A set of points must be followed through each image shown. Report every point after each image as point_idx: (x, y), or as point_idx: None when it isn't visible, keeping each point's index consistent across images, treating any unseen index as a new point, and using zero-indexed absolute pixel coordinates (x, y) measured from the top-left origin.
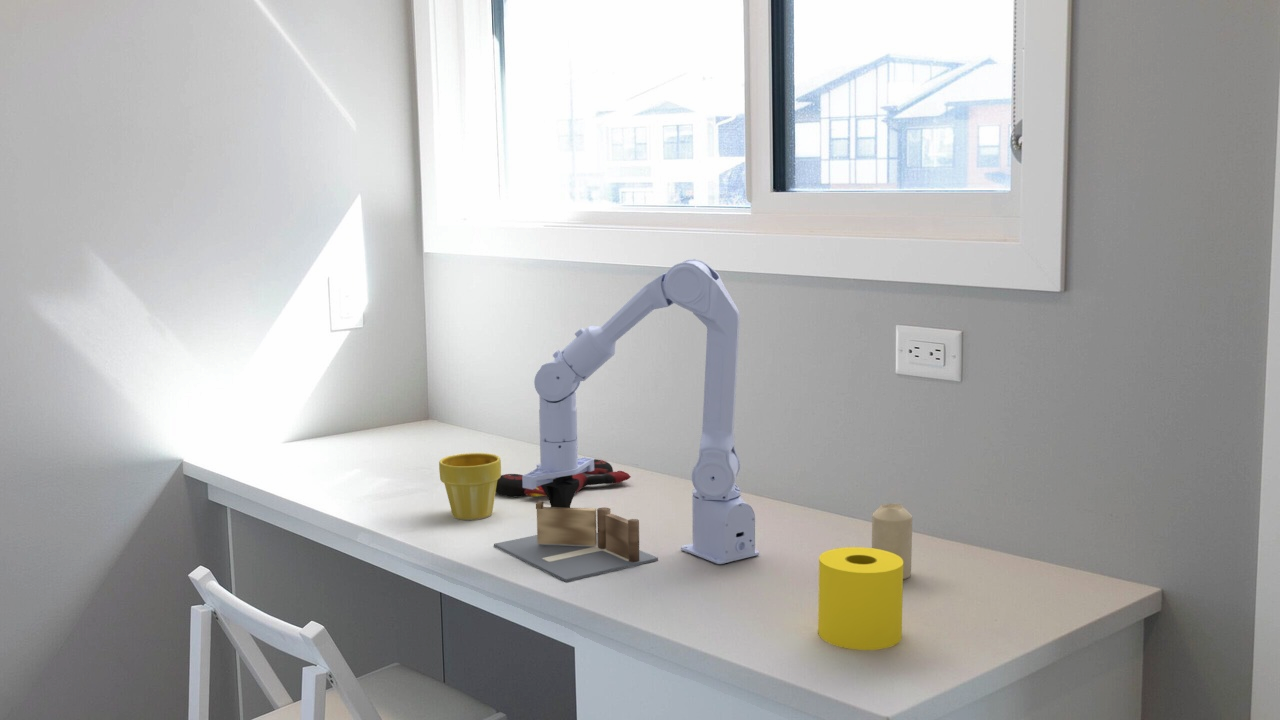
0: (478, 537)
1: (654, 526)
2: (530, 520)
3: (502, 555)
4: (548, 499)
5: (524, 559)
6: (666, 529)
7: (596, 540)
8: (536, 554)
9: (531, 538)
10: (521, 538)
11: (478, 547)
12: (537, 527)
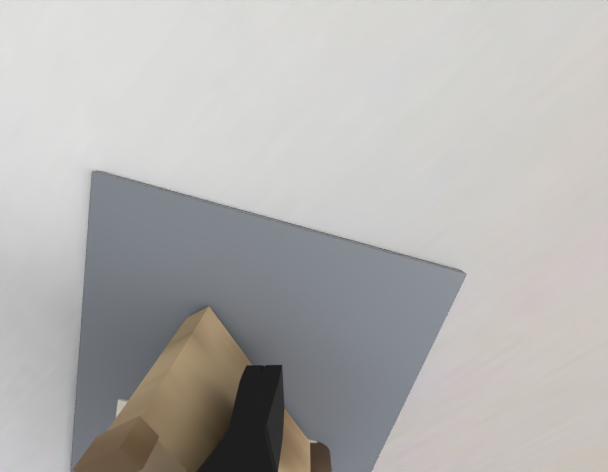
0: (123, 12)
1: (586, 422)
2: (464, 7)
3: (66, 268)
4: (199, 467)
5: (79, 362)
6: (570, 458)
7: (308, 452)
8: (131, 363)
9: (237, 238)
10: (211, 209)
11: (47, 129)
12: (158, 360)
